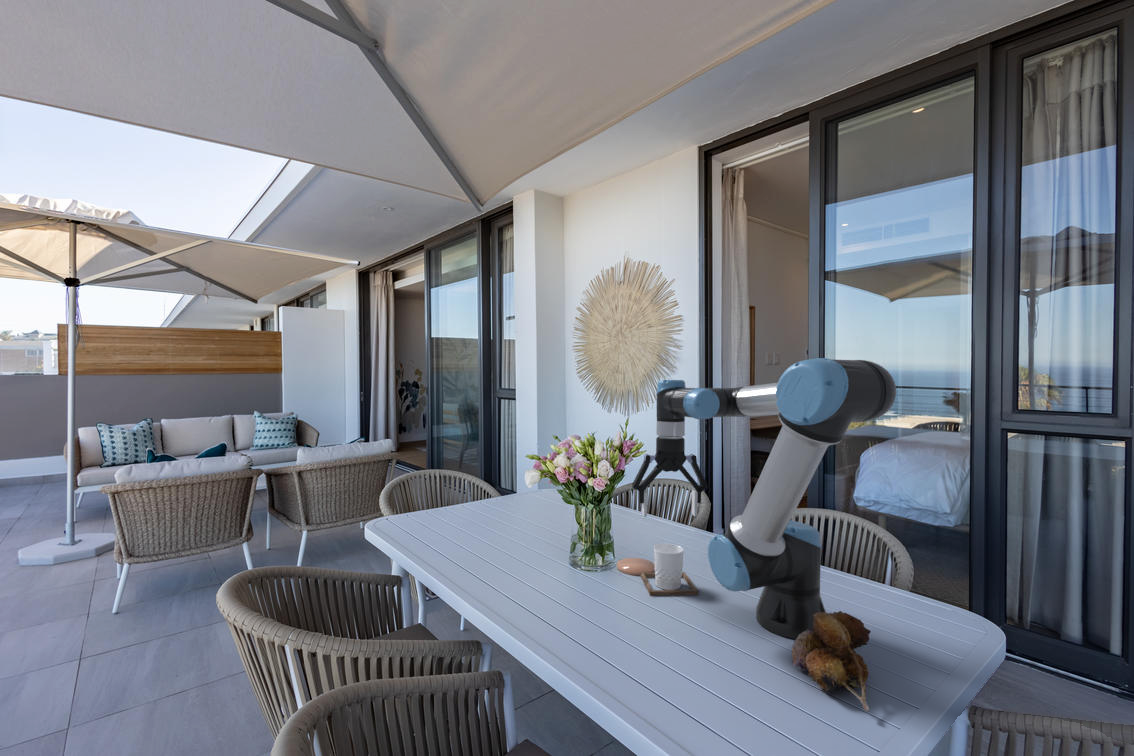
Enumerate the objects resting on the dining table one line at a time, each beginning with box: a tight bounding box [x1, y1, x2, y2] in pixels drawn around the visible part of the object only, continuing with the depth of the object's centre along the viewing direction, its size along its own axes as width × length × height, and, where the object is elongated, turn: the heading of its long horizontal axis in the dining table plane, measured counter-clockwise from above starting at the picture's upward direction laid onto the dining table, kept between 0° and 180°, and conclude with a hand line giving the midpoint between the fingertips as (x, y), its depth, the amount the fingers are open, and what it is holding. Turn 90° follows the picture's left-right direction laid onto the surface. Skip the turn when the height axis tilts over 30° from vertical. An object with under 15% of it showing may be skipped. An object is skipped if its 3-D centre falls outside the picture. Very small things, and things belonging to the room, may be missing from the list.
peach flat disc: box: [616, 557, 655, 576], centre depth 150 cm, size 11×11×1 cm
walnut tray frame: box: [640, 571, 699, 597], centre depth 138 cm, size 13×13×1 cm
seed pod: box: [791, 610, 872, 712], centre depth 95 cm, size 13×16×15 cm
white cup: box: [653, 543, 684, 590], centre depth 138 cm, size 8×8×10 cm
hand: (669, 515), depth 138 cm, fingers open, 13 cm apart
